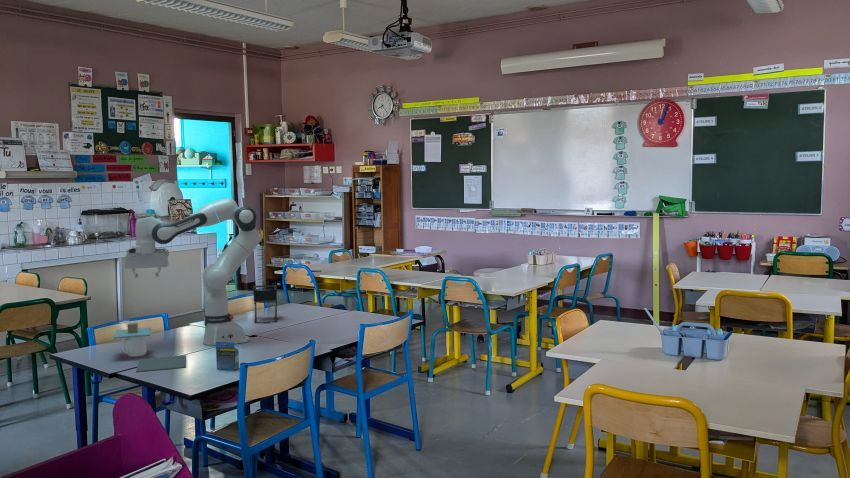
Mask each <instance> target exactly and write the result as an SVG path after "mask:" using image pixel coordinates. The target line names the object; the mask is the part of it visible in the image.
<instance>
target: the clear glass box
mask: <svg viewBox="0 0 850 478" xmlns="http://www.w3.org/2000/svg"><path fill="white" fill-rule="evenodd" d="M256 288H273V289H270V290H269V289H267V290H258V289H256ZM252 289H253V291H252V292H253V305H254V322H253V323H254V324H256V323H264V324H271V323H270V322H276V321H277V322H278V306H277V303H278V297H277V296H278V293H277V289H278V288H277V284H270V285H269V284H268V285H267V284H266V285H253V288H252ZM257 303H258V304H266V303H267V304H270V303H274V319H275V320H270V321H269V320H268V321H257ZM277 322H276V323H277Z"/></svg>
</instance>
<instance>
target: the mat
mask: <svg viewBox="0 0 850 478" xmlns="http://www.w3.org/2000/svg"><path fill="white" fill-rule="evenodd" d="M186 368H187V355H185V354H184V355H173V356H163V357H151V358H139V359H138V363H137V367H136V370H135V372H136V373H143V372H145V373H146V372H154V371H165V370H174V369H176V370H177V369H178V370H179V369H186Z"/></svg>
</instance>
